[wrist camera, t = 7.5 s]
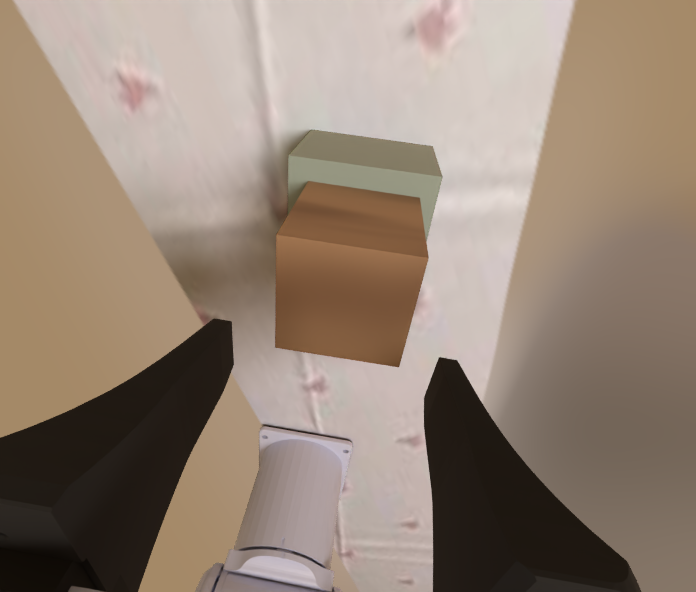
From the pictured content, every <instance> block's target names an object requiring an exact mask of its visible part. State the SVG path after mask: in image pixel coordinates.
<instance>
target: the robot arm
mask: <svg viewBox="0 0 696 592" xmlns="http://www.w3.org/2000/svg"><path fill="white" fill-rule="evenodd" d="M233 365H234V360H233V340H232V322H231V321H225V320H220V319H213V320H211V321H210V322H209V323H207V324H206V325H205V326H203V327H202V328H201V329H200V330H199V331H197V332H196V333H195V334H193V335H192V336H191V337H189V338H188V339H187V340H186V341H184V342H183V343H182V344H180V345H179V346H178V347H176V348H175V349H173V350H172V351H171V352H169V353H168V354H167V355H165V356H164V357H163V358H161V359H160V360H158V361H157V362H155V363H154V364H152V365H151V366H149V367H148V368H146V369H145V370H143V371H142V372H140V373H139V374H137V375H136V376H134V377H132V378H131V379H129V380H127V381H126V382H124V383H122V384H120V385H119V386H117V387H115V388H113V389H112V390H110V391H108V392H106V393H104V394H102V395H100V396H98V397H96V398H94V399H92V400H90V401H88V402H86V403H84V404H82V405H80V406H78V407H76V408H74V409H72V410H69V411H67V412H65V413H63V414H61V415H58V416H56V417H53V418H51V419H49V420H46V421H44V422H41V423H39V424H37V425H34V426H32V427H29V428H27V429H24V430H21V431H18V432H15V433H13V434H10V435H7V436H4V437H1V438H0V592H138V589H139V587H140V584H141V581H142V578H143V575H144V572H145V569H146V567H147V564H148V561H149V558H150V555H151V552H152V549H153V547H154V544H155V541H156V539H157V536H158V533H159V530H160V527H161V525H162V522H163V520H164V517H165V514H166V512H167V509H168V507H169V504H170V501H171V499H172V497H173V494H174V491H175V489H176V486H177V484H178V482H179V479H180V477H181V474H182V472H183V469H184V467H185V465H186V462H187V460H188V458H189V456H190V454H191V451H192V449H193V447H194V445H195V444H196V442H197V440H198V438H199V436H200V434H201V432H202V430H203V429H204V427H205V425H206V423H207V421H208V419H209V418H210V416H211V414H212V412H213V410H214V408H215V406H216V404H217V402H218V401H219V399H220V397H221V395H222V393H223V391H224V388H225V386H226V383H227V381H228V378H229V375H230V373H231V370H232V368H233ZM424 429H425V438H426V447H427V455H428V464H429V472H430V481H431V489H432V502H433V592H641V590H640V588H639V585H638V583H637V580H636V578H635V576H634V574H633V573H632V570H631V568H630V566H629V564H628V563H627V561H626V560H625V559H624V558H622V557H621V556H620V555H619V554H618V553H616V552H615V551H614V550H613V549H612V548H611V547H610V546H608V545H607V544H606V543H605V542H604V541H603V540H601V539H600V538H599V537H598V536H597V535H596V534H594V533H593V532H592V531H591V530H590V529H589V528H588V527H587V526H585V525H584V524H583V523H582V522H581V521H580V520H579V519H578V518H577V517H576V516H575V515H574V514H573V513H572V512H571V511H570V510H569V509H567V508H566V507H565V506H564V505H563V504H562V503H561V502H560V501H559V500H558V499H557V498H556V497H555V496H554V495H553V494H552V492H551V491H550V490H549V489H548V488H547V487H546V486H545V485H544V484H543V483H542V482H541V481H540V480H539V478H538V477H537V476H536V475H535V474H534V473H533V472H532V471H531V469H530V468H529V467H528V466H527V465H526V464H525V462H524V461H523V460H522V459H521V457H520V456H519V455H518V454H517V453H516V451H515V450H514V449H513V448H512V446H511V445H510V444H509V442H508V441H507V440H506V438H505V437H504V436H503V434H502V433H501V431H500V430H499V428H498V427H497V425H496V424H495V423H494V421H493V420H492V418H491V417H490V415H489V413H488V412H487V410H486V409H485V407H484V406H483V404H482V402H481V401H480V399H479V397H478V396H477V394H476V392H475V391H474V389H473V387H472V386H471V384H470V382H469V380H468V379H467V377H466V375H465V373H464V372H463V370H462V368H461V366H460V364H459V363H458V361H457V360H452V359H446V358H440V357H439V359H438V362H437V364H436V367H435V370H434V372H433V375H432V378H431V381H430V383H429V386H428V389H427V391H426V394H425V397H424ZM352 447H353V444H352V443H351V442H350V441H346V440H341V439H335V438H329V437H324V436H318V435H312V434H307V433H301V432H295V431H289V430H284V429H278V428H272V427H267V426H263V427H261V428H260V431H259V471H258V474H257V477H256V481H255V484H254V487H253V490H252V493H251V496H250V499H249V502H248V505H247V509H246V512H245V515H244V518H243V521H242V524H241V527H240V531H239V534H238V537H237V540H236V543H235V546H234V550H232V549H230V550H229V552H228V555H227V558H226V561H225V564H221V563H215V564H214V565H213V567H212V568H210V569H209V570H207V571H206V572H205V573H204V574H203V576H202V578H201V580H200V582H199V584H198V586H197V588H196V591H195V592H342V591H341V589H340V588H338V587H333V579H334V571H332V570H330V566H331V559H332V551H333V543H334V535H335V527H336V519H337V511H338V503H339V500H340V498H341V494H342V490H343V486H344V481H345V477H346V473H347V469H348V465H349V461H350V456H351V452H352Z"/></svg>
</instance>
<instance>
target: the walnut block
mask: <svg viewBox="0 0 696 592" xmlns="http://www.w3.org/2000/svg"><path fill="white" fill-rule="evenodd" d="M427 262H428V251H427V244H426V237H425V230H424V223H423V216H422V209H421V202H420V198H419V197H412V196H406V195H399V194H392V193H386V192H379V191H372V190H366V189H359V188H352V187H346V186H339V185H332V184H326V183H319V182H313V181H308V183H307V184H306V186H305V188H304V189H303V191H302V193H301V194H300V196H299V198H298V199H297V201H296V203H295V204H294V206H293V208H292V209H291V211H290V213H289V214H288V216H287V218H286V219H285V221H284V223H283V224H282V226H281V228H280V229H279V231H278V233H277V234H276V329H275V348H282V349H288V350H294V351H300V352H307V353H313V354H319V355H325V356H332V357H338V358H344V359H351V360H357V361H363V362H369V363H376V364H382V365H388V366H395V367H399V365H400V361H401V358H402V354H403V350H404V347H405V343H406V339H407V336H408V332H409V328H410V325H411V321H412V317H413V313H414V310H415V306H416V302H417V299H418V295H419V291H420V288H421V284H422V280H423V277H424V273H425V269H426V265H427Z"/></svg>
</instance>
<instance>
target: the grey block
mask: <svg viewBox="0 0 696 592" xmlns="http://www.w3.org/2000/svg"><path fill="white" fill-rule="evenodd" d="M308 181H313V182H319V183H326V184H332V185H339V186H346V187H352V188H359V189H366V190H372V191H379V192H386V193H392V194H399V195H406V196H412V197H419V198H420V202H421V209H422V216H423V223H424V230H425V237H426V241H427V237H428V233H429V229H430V225H431V221H432V217H433V213H434V209H435V205H436V201H437V197H438V193H439V189H440V185H441V181H442V174H441V171H440V168H439V165H438V162H437V158H436V155H435V152H434V149H433V146H427V145H420V144H412V143H405V142H398V141H391V140H383V139H376V138H369V137H362V136H355V135H347V134H340V133H333V132H326V131H319V130H311V131H310V132H309V133H308V134H307V135H306V136H305V137H304V138H303V140H302V141H301V142H300V143H299V144H298V145H297V146H296V147H295V149H294V150H293V151H292V152H291V153H290V154H289V156H288V213H287V216H288V214H289V213H290V211H291V209H292V208H293V206H294V204H295V203H296V201H297V199H298V198H299V196H300V194H301V193H302V191H303V189H304V188H305V186H306V184H307V183H308Z"/></svg>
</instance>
